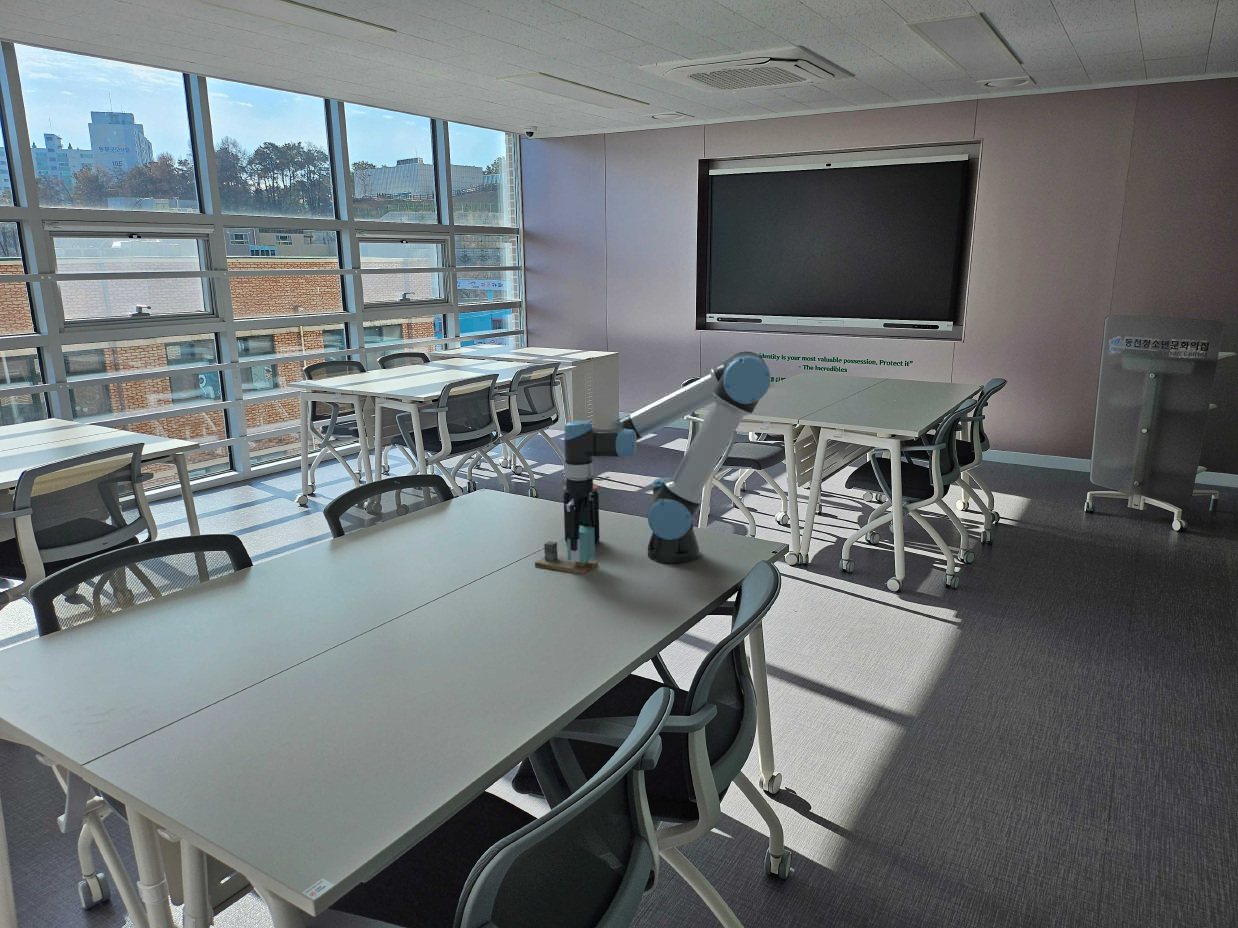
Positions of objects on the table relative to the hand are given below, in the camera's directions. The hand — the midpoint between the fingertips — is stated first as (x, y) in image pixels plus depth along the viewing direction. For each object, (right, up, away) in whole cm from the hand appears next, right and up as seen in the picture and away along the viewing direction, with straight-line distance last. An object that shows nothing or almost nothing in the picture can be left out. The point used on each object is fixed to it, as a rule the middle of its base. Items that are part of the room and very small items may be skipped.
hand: (581, 557), depth 233 cm
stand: (-4, -3, +3) cm, 6 cm away
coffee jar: (-1, +2, +23) cm, 23 cm away
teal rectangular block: (0, 0, 0) cm, 0 cm away
